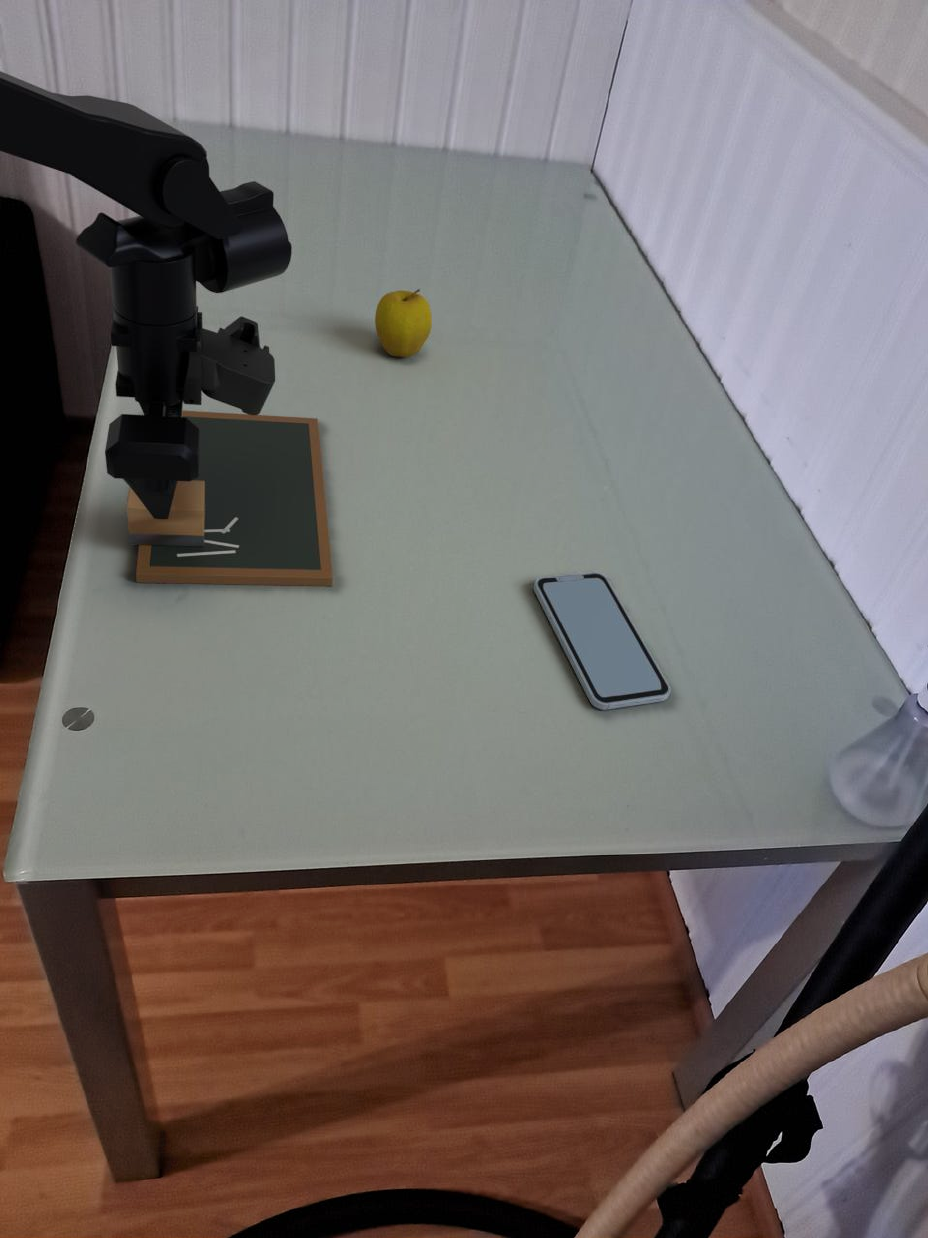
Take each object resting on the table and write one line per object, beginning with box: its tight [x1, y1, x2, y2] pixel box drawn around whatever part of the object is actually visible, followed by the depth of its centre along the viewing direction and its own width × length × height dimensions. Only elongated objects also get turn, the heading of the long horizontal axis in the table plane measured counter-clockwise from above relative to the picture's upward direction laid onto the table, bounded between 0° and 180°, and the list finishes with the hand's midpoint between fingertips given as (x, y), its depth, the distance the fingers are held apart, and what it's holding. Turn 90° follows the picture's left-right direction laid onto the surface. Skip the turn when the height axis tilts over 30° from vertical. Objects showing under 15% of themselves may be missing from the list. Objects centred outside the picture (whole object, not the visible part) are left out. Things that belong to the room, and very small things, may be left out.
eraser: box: [126, 480, 205, 547], centre depth 81 cm, size 6×4×4 cm, turn 99°
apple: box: [374, 288, 433, 358], centre depth 110 cm, size 6×6×8 cm
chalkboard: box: [135, 410, 334, 587], centre depth 88 cm, size 16×24×1 cm, turn 9°
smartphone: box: [533, 571, 672, 711], centre depth 83 cm, size 7×1×15 cm
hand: (164, 482), depth 79 cm, fingers open, 9 cm apart
